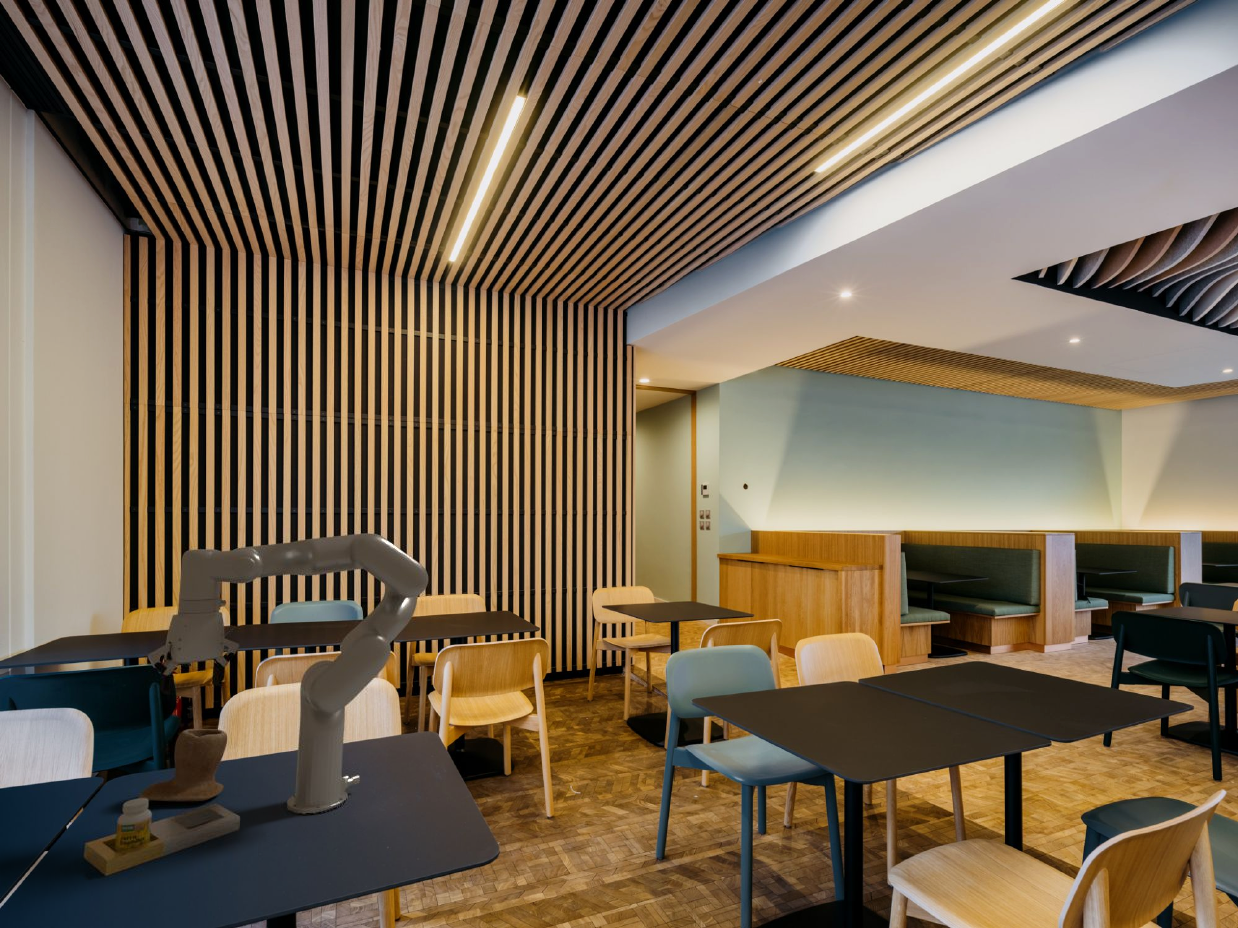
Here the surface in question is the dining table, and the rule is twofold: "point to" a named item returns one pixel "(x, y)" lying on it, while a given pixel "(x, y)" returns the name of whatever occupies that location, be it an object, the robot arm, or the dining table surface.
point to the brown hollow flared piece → (192, 768)
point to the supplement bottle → (133, 825)
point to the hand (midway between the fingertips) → (192, 689)
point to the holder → (163, 838)
